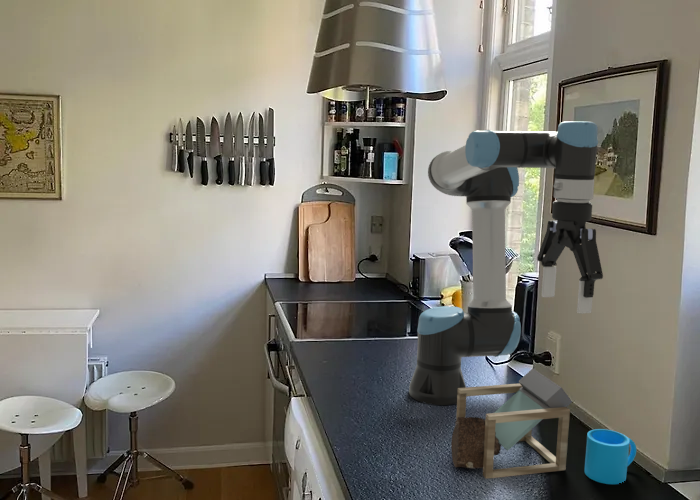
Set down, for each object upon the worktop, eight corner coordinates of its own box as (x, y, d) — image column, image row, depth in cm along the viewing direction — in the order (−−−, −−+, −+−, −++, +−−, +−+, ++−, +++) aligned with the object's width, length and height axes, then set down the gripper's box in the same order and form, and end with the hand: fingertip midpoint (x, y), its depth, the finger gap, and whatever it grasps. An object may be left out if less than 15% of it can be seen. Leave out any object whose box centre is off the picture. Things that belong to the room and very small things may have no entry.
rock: (460, 402, 143) (449, 441, 135) (509, 416, 140) (501, 457, 133) (452, 436, 151) (441, 475, 144) (498, 450, 148) (490, 490, 141)
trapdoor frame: (455, 444, 154) (457, 388, 152) (527, 437, 158) (531, 382, 156) (485, 478, 139) (489, 416, 137) (565, 470, 143) (570, 409, 141)
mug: (604, 487, 136) (607, 449, 135) (575, 469, 144) (578, 432, 142) (649, 476, 141) (652, 439, 140) (619, 459, 149) (622, 423, 147)
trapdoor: (487, 432, 153) (476, 419, 152) (543, 381, 155) (532, 368, 153) (512, 456, 142) (500, 442, 141) (572, 401, 143) (561, 387, 142)
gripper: (525, 195, 148) (519, 291, 151) (592, 207, 124) (583, 321, 127) (556, 194, 149) (549, 290, 153) (628, 206, 126) (618, 319, 129)
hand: (565, 304), depth 140 cm, fingers open, 13 cm apart
